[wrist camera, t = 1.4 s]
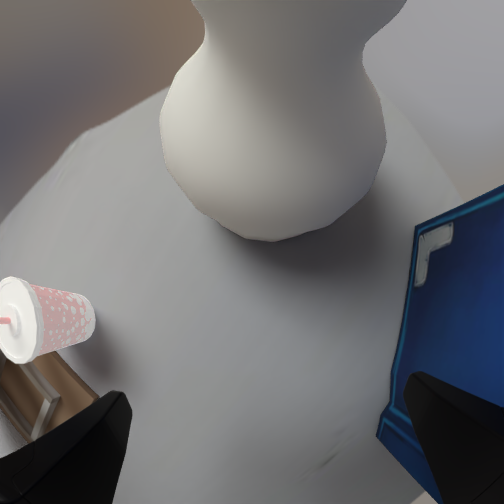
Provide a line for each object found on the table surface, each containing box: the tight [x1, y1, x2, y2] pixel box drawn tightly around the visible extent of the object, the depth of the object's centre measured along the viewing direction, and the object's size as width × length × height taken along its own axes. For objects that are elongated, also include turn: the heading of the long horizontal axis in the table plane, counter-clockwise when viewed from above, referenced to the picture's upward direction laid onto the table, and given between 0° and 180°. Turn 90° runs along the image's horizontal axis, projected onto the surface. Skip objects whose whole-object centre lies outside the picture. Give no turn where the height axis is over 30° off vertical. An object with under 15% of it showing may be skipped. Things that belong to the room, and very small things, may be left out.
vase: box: [159, 0, 407, 242], centre depth 14 cm, size 14×14×20 cm
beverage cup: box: [0, 276, 96, 364], centre depth 14 cm, size 6×6×14 cm
